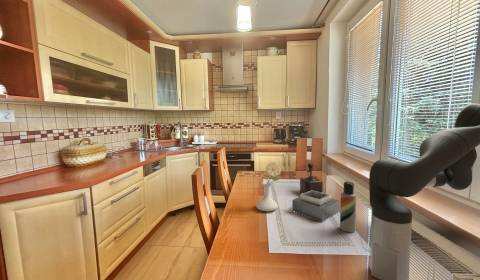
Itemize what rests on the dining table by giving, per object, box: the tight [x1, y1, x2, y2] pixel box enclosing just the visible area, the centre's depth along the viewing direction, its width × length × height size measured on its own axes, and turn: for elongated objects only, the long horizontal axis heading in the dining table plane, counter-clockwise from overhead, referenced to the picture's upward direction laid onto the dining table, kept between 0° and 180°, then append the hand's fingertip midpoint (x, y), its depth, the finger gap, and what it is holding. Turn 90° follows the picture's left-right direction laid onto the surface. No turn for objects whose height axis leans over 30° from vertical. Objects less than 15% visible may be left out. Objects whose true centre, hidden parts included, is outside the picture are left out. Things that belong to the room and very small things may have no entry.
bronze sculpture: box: [299, 162, 324, 194], centre depth 133 cm, size 16×11×18 cm
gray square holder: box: [291, 190, 340, 223], centre depth 104 cm, size 16×16×9 cm
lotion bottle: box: [339, 180, 357, 233], centre depth 86 cm, size 6×6×20 cm
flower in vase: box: [255, 161, 282, 212], centre depth 107 cm, size 13×11×25 cm
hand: (381, 180), depth 85 cm, fingers open, 8 cm apart
